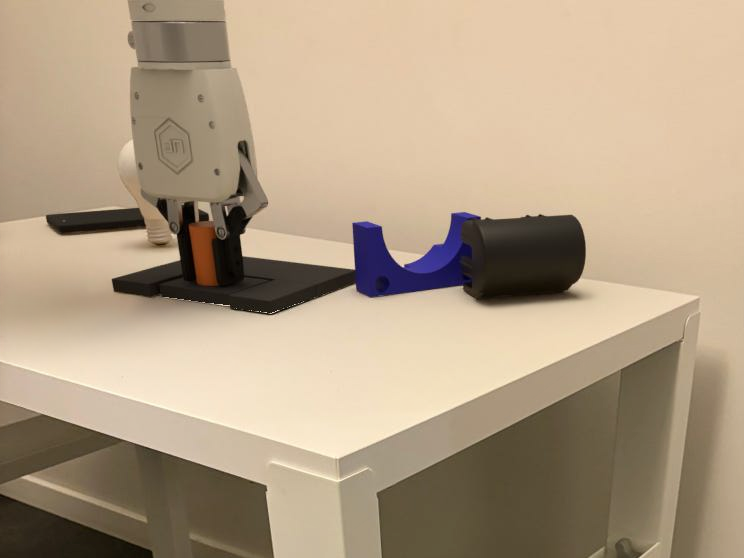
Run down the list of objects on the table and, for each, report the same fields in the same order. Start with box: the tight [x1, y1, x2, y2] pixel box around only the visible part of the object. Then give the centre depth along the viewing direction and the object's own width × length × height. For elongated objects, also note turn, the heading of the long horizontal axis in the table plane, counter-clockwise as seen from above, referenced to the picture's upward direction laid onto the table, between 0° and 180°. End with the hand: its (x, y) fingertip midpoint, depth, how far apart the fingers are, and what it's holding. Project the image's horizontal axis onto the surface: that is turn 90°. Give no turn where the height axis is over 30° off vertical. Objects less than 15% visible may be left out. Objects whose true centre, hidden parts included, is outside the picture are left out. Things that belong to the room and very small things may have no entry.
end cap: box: [460, 213, 587, 300], centre depth 90 cm, size 10×7×7 cm
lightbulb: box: [117, 138, 173, 247], centre depth 107 cm, size 6×6×11 cm
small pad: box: [159, 220, 269, 305], centre depth 90 cm, size 8×6×6 cm
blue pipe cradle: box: [351, 211, 482, 298], centre depth 94 cm, size 12×4×6 cm, turn 122°
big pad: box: [111, 255, 356, 313], centre depth 94 cm, size 18×14×1 cm
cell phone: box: [45, 203, 210, 234], centre depth 122 cm, size 9×18×1 cm, turn 121°
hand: (214, 278), depth 90 cm, fingers closed on small pad, 3 cm apart
